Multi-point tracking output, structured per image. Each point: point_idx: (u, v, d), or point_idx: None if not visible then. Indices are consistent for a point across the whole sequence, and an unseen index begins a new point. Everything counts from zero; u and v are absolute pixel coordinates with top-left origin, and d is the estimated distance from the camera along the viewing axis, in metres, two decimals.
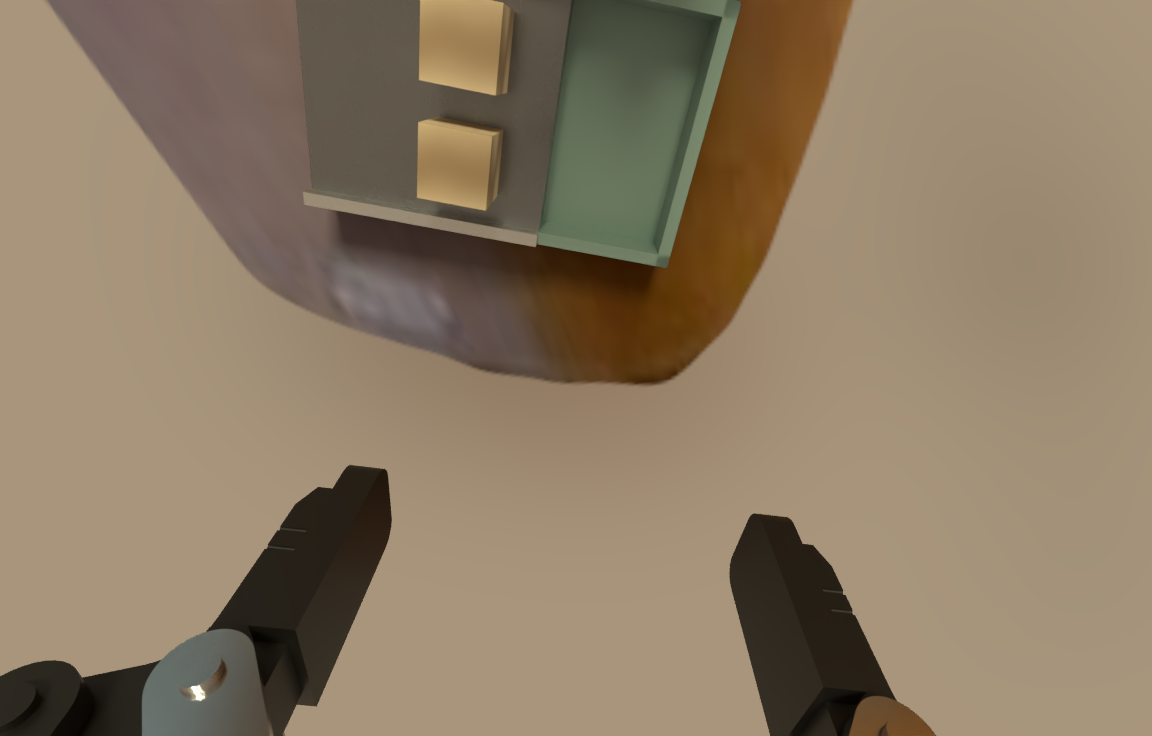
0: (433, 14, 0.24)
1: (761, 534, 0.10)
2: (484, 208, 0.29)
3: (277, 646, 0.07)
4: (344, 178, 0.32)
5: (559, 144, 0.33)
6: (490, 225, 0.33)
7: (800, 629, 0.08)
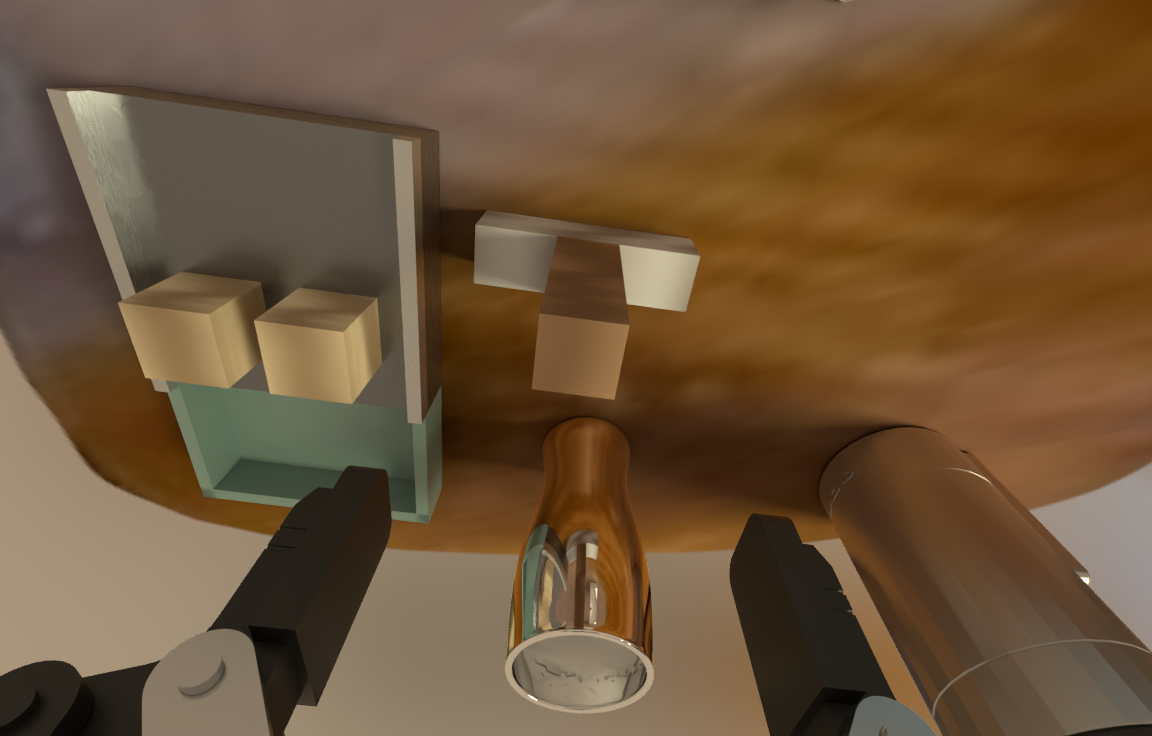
0: (321, 341, 0.23)
1: (761, 534, 0.10)
2: (147, 376, 0.24)
3: (277, 646, 0.07)
4: (131, 146, 0.23)
5: None
6: None
7: (800, 629, 0.08)
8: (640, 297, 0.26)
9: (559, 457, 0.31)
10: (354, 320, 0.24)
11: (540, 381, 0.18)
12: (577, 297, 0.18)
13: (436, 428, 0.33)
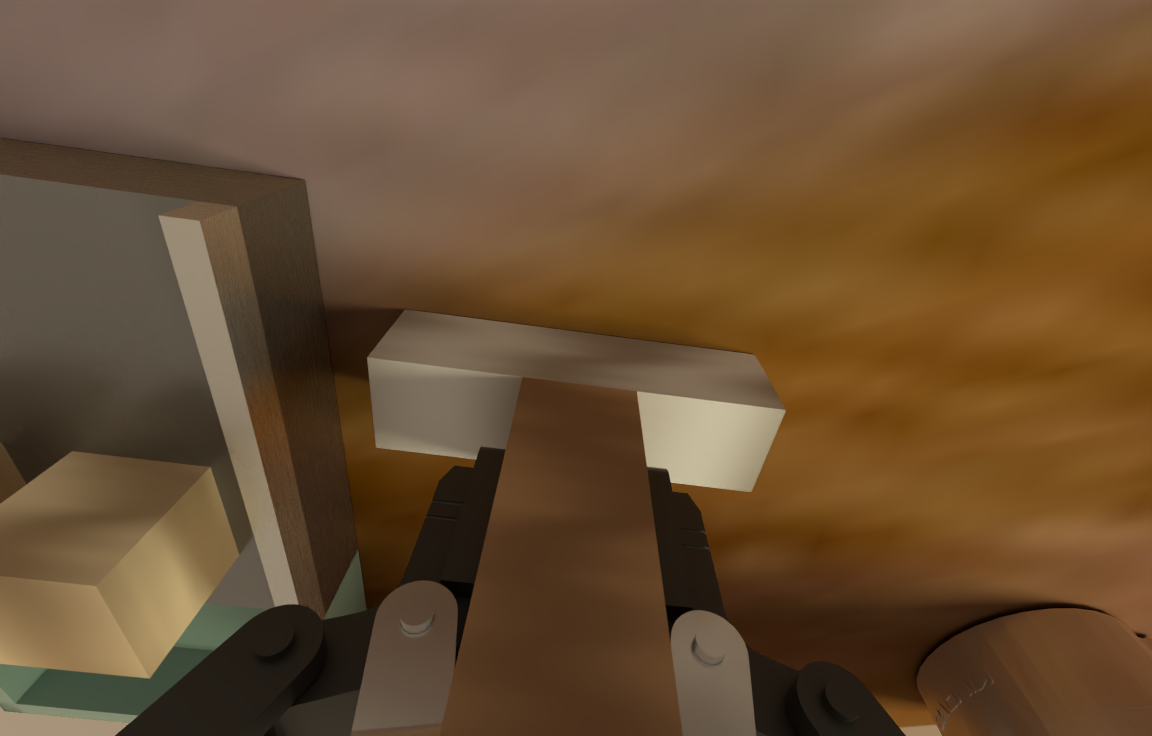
0: (59, 598, 0.12)
1: None
2: None
3: (462, 599, 0.08)
4: None
5: None
6: None
7: None
8: (672, 470, 0.14)
9: None
10: (137, 542, 0.13)
11: None
12: (545, 667, 0.07)
13: (351, 613, 0.21)
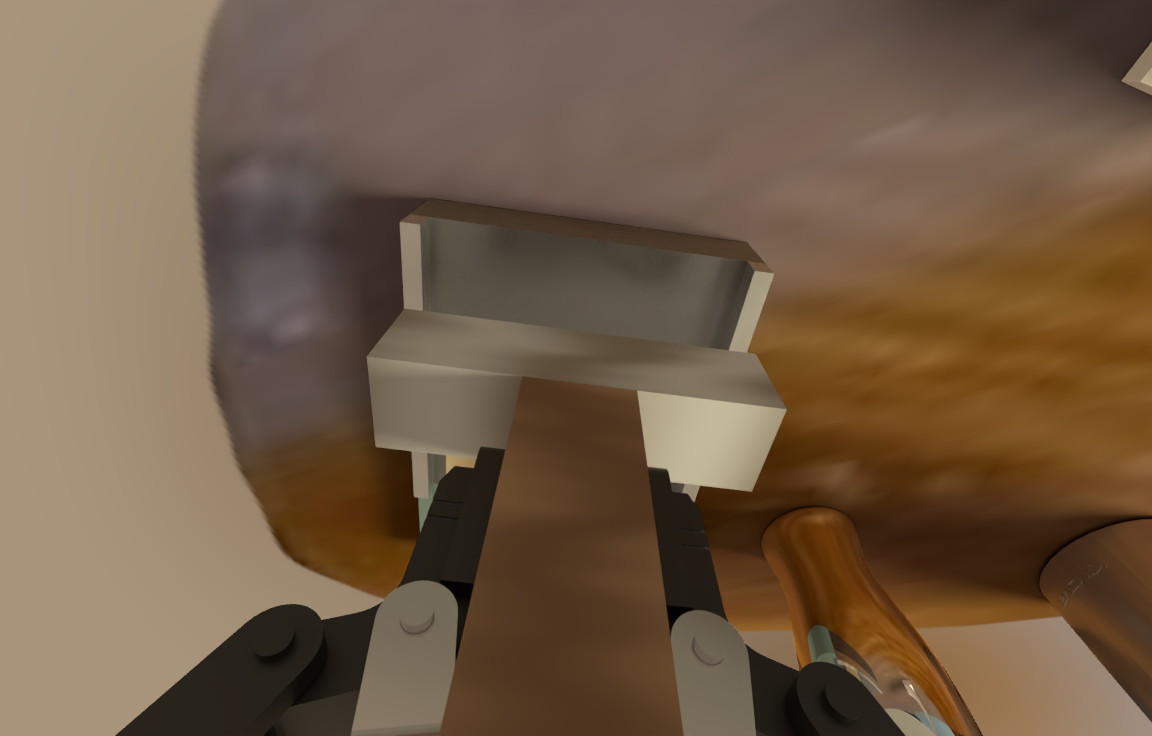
0: None
1: None
2: None
3: (462, 599, 0.08)
4: (453, 269, 0.22)
5: None
6: None
7: None
8: (673, 470, 0.14)
9: (805, 554, 0.30)
10: None
11: None
12: (544, 667, 0.07)
13: None
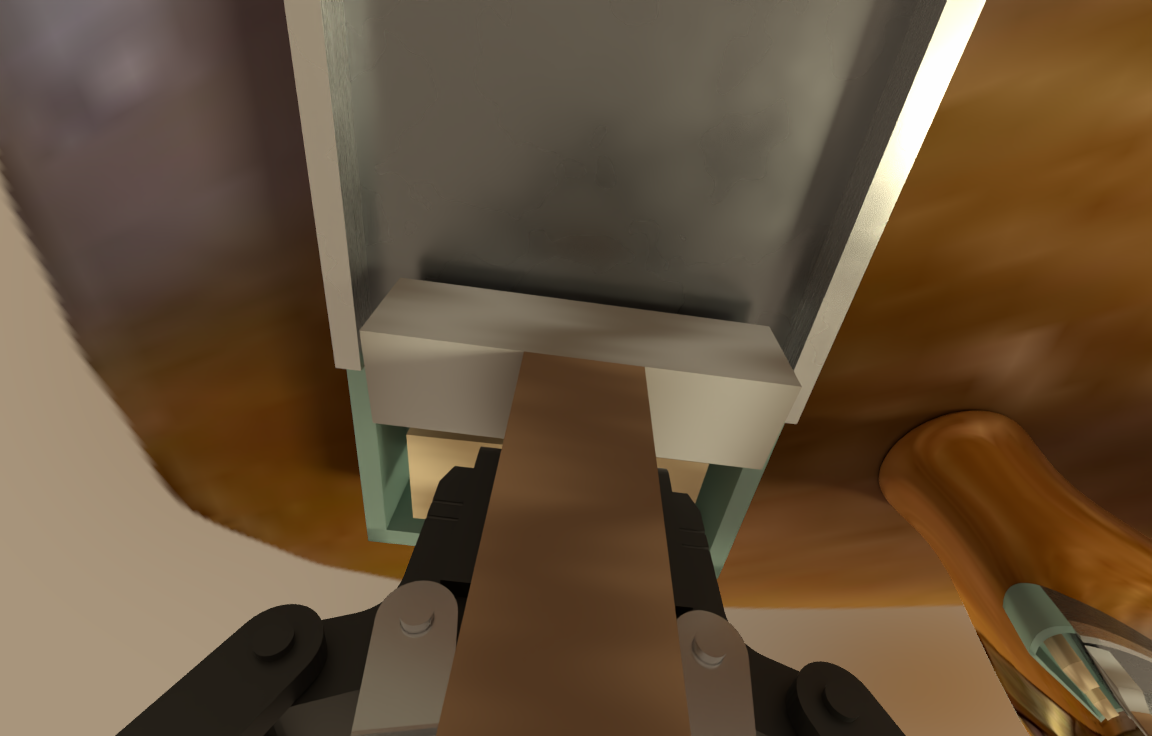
0: None
1: None
2: None
3: (462, 599, 0.08)
4: None
5: None
6: (354, 275, 0.14)
7: None
8: (680, 448, 0.14)
9: (974, 476, 0.19)
10: None
11: None
12: (546, 672, 0.06)
13: None
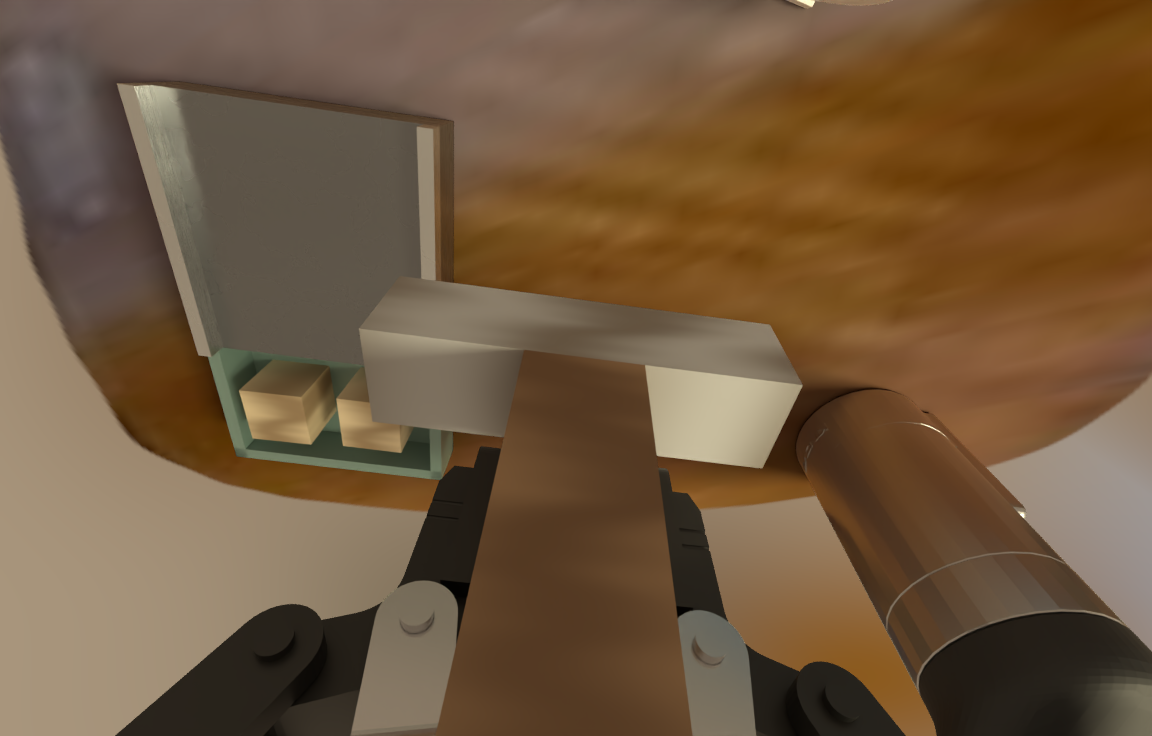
0: None
1: None
2: None
3: (462, 599, 0.08)
4: (185, 134, 0.26)
5: None
6: (201, 310, 0.30)
7: None
8: (681, 446, 0.14)
9: None
10: (400, 438, 0.34)
11: None
12: (546, 670, 0.06)
13: None
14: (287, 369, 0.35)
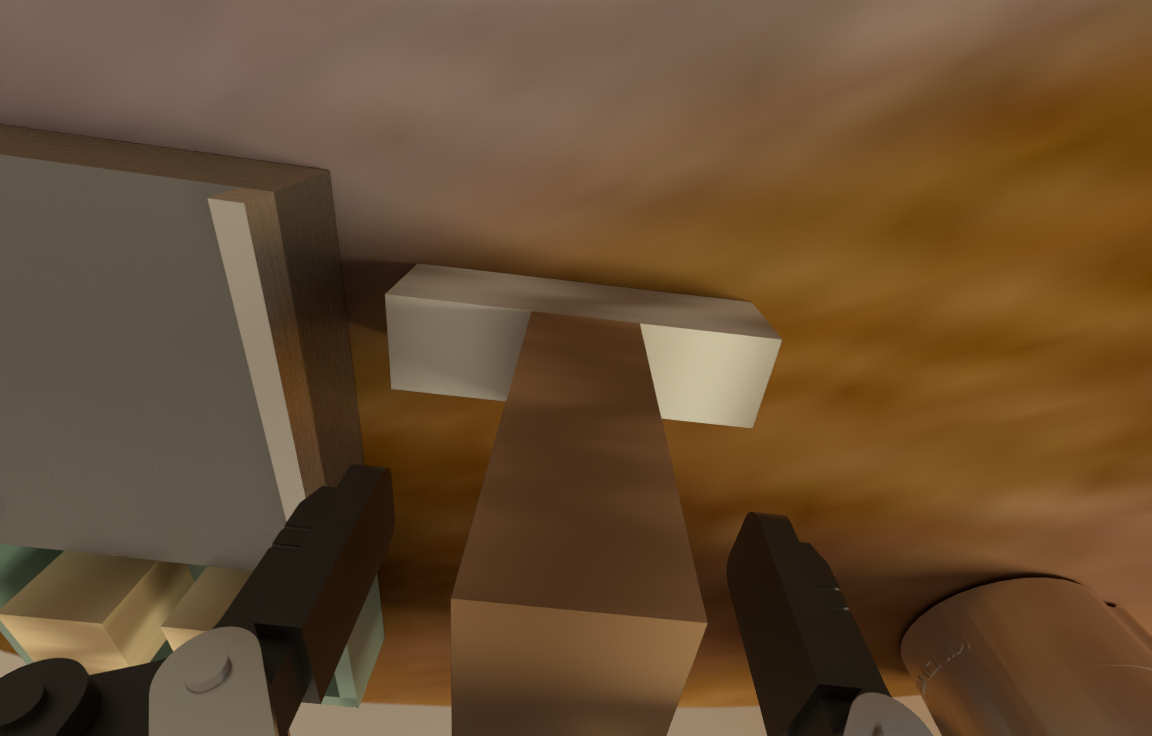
0: None
1: (758, 532, 0.10)
2: None
3: (282, 644, 0.07)
4: None
5: None
6: None
7: (796, 626, 0.08)
8: (676, 407, 0.15)
9: None
10: None
11: (473, 724, 0.07)
12: (561, 500, 0.07)
13: None
14: None
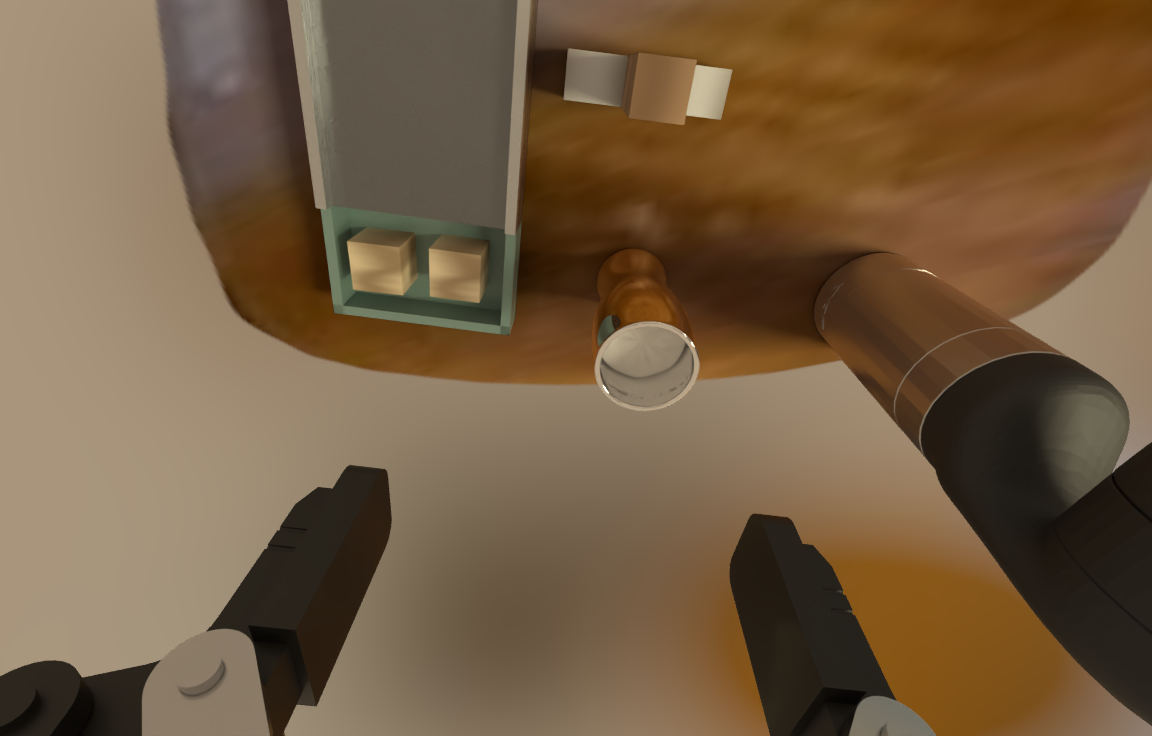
0: None
1: (761, 534, 0.10)
2: None
3: (277, 646, 0.07)
4: (325, 3, 0.32)
5: None
6: (322, 165, 0.36)
7: (800, 629, 0.08)
8: (687, 107, 0.34)
9: (614, 271, 0.41)
10: (479, 288, 0.40)
11: (635, 111, 0.27)
12: None
13: (517, 255, 0.42)
14: (381, 232, 0.41)
